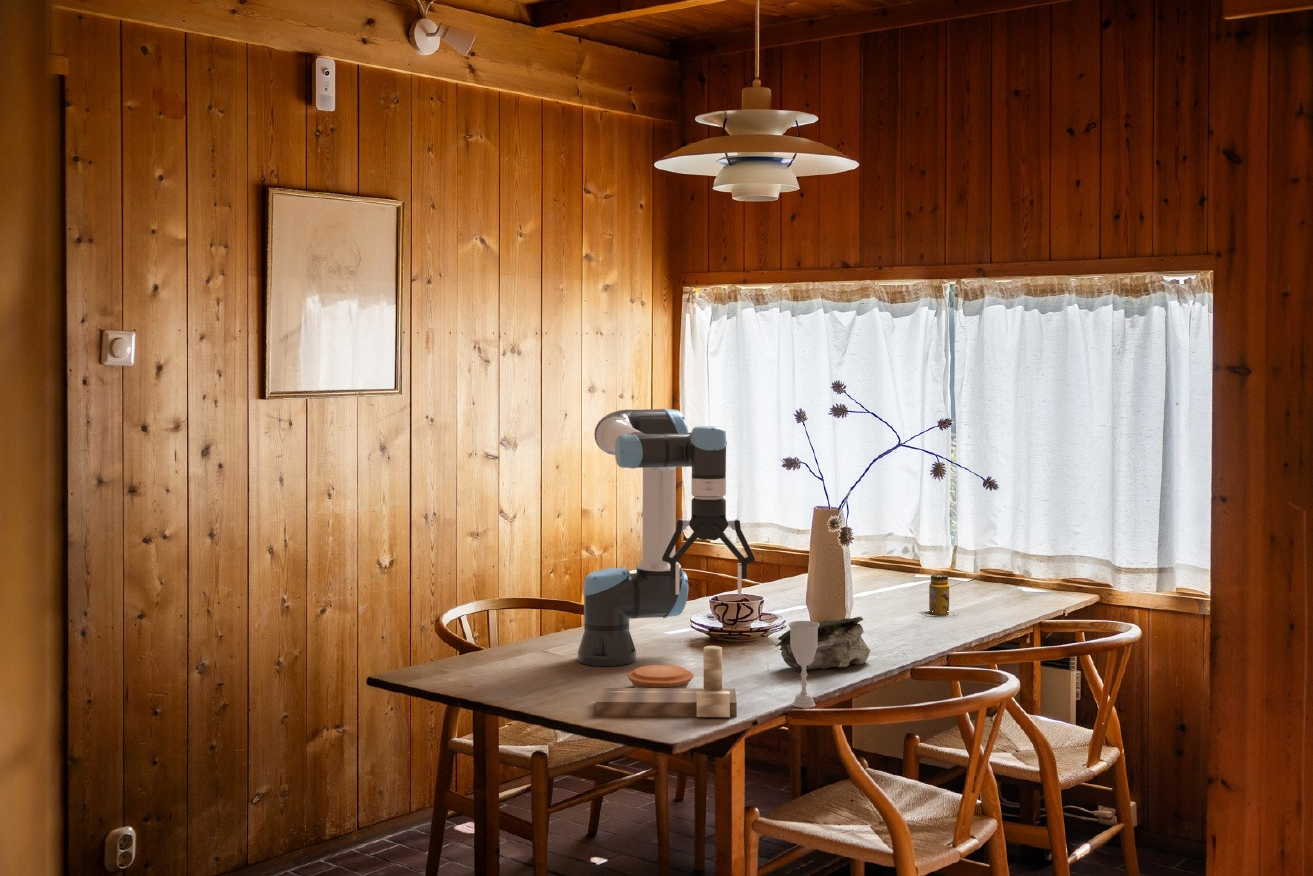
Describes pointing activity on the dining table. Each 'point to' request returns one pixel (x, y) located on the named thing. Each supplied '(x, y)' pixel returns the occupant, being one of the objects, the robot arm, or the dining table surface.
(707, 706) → the wooden handled tool
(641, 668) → the pie
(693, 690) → the board
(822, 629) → the hollow geode rock
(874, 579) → the dining table surface
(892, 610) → the dining table surface
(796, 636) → the chalice
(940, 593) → the condiment
